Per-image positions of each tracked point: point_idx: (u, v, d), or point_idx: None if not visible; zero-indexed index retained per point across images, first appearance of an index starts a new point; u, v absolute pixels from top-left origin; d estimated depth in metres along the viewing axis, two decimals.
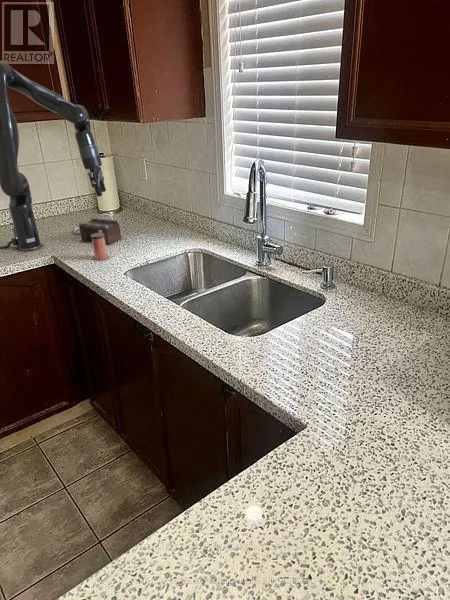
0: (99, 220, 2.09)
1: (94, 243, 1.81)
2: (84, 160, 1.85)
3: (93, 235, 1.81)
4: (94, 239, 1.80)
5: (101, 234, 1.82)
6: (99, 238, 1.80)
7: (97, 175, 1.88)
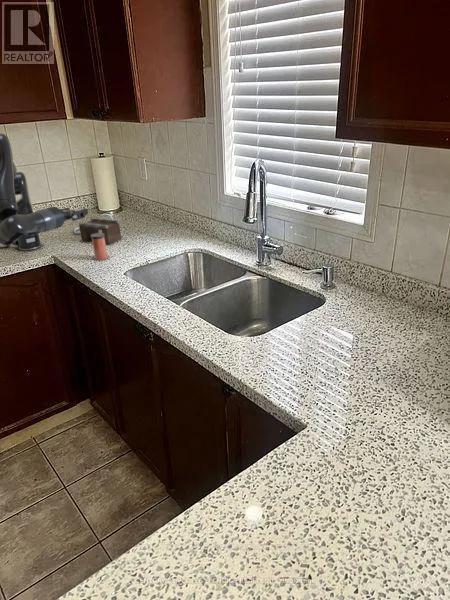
0: (99, 220, 2.09)
1: (94, 243, 1.81)
2: None
3: (93, 235, 1.81)
4: (94, 239, 1.80)
5: (101, 234, 1.82)
6: (99, 238, 1.80)
7: None
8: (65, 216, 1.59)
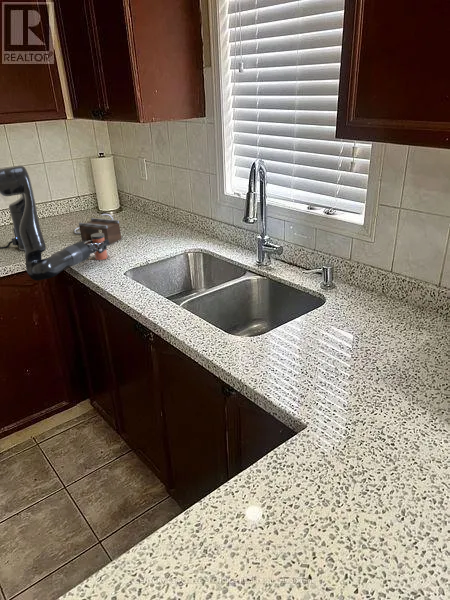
0: (99, 220, 2.09)
1: None
2: None
3: (93, 235, 1.81)
4: (94, 239, 1.80)
5: (101, 234, 1.82)
6: (99, 238, 1.80)
7: None
8: (90, 250, 1.74)
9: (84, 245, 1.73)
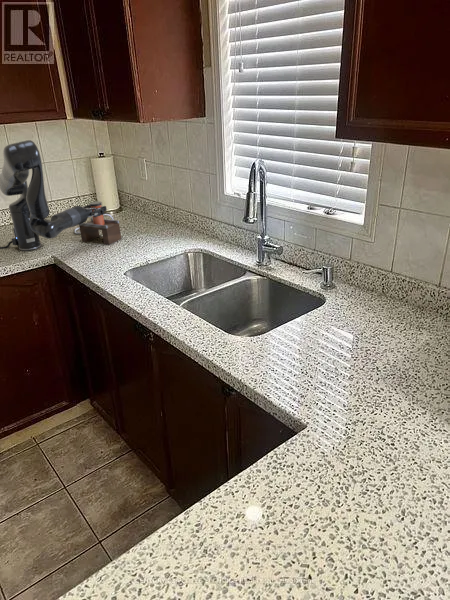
0: None
1: None
2: None
3: (91, 203, 2.00)
4: (92, 206, 1.99)
5: (99, 202, 2.01)
6: (97, 205, 1.99)
7: None
8: (88, 213, 1.93)
9: (82, 208, 1.91)
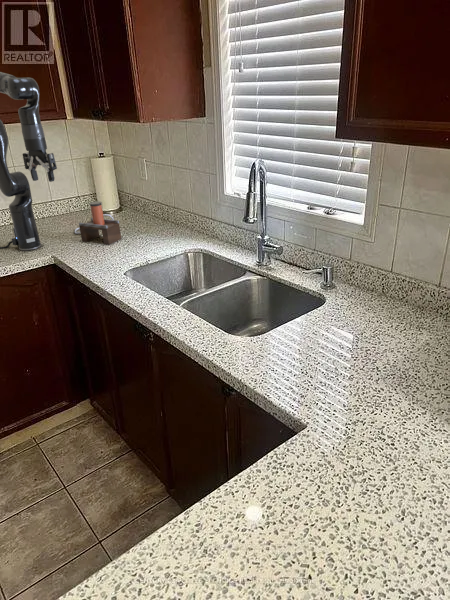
0: None
1: (92, 210, 2.00)
2: None
3: (91, 203, 2.00)
4: (92, 206, 1.99)
5: (99, 202, 2.01)
6: (97, 205, 1.99)
7: None
8: (44, 151, 1.68)
9: (46, 146, 1.70)
